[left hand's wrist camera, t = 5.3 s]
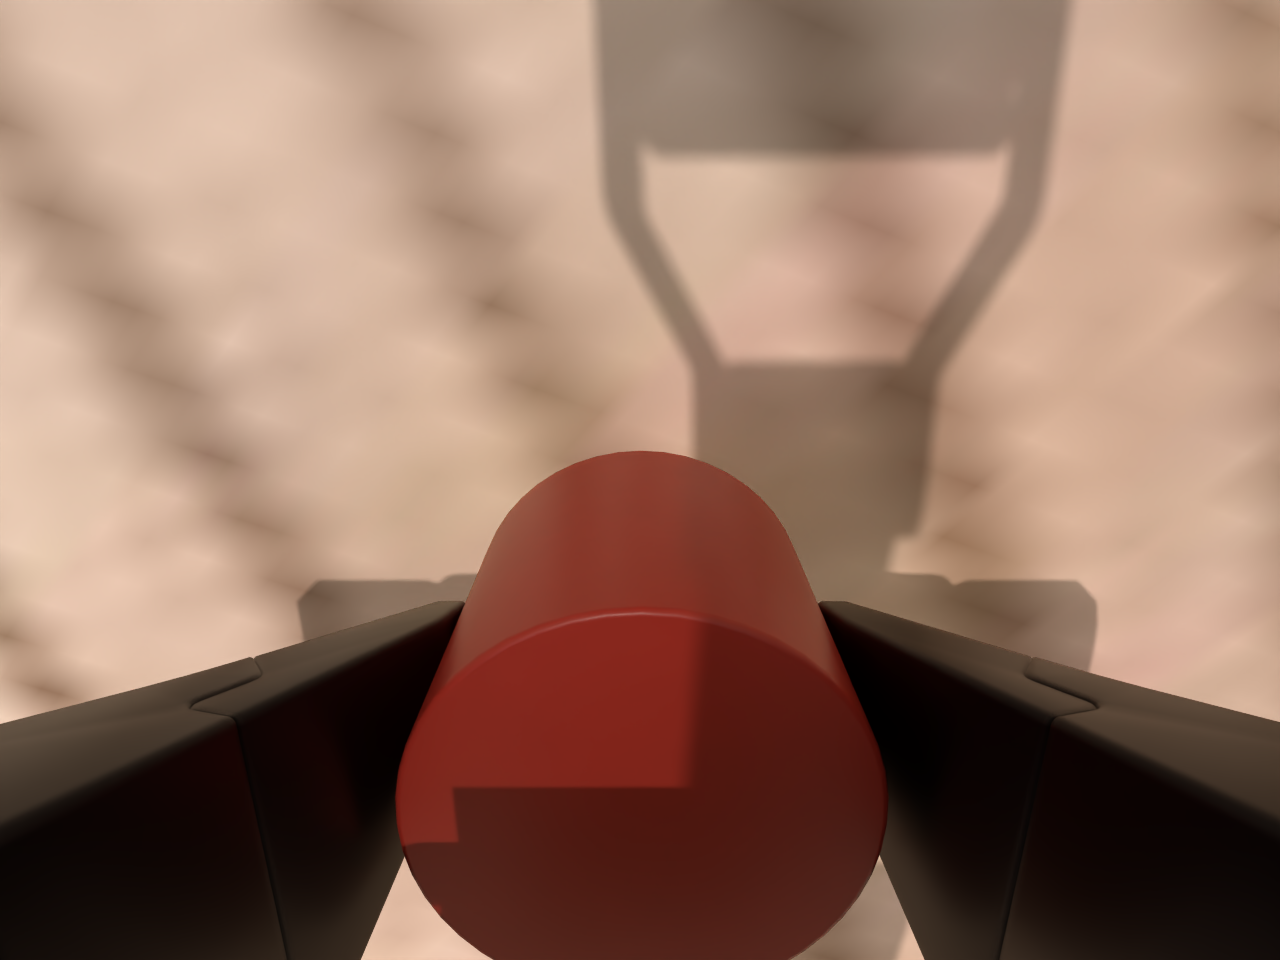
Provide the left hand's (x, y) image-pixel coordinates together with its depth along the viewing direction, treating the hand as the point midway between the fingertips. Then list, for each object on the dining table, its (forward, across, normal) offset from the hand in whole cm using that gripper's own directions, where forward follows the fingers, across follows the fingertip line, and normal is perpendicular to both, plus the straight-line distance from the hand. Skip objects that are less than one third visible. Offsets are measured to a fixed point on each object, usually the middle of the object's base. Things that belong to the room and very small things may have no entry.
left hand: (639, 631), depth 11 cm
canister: (+1, 0, 0) cm, 1 cm away
